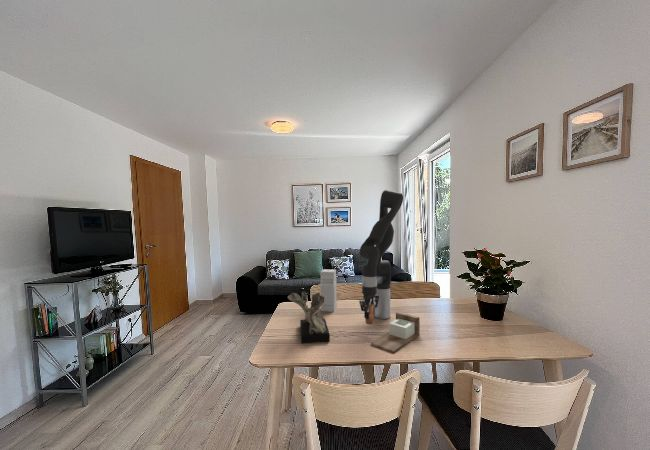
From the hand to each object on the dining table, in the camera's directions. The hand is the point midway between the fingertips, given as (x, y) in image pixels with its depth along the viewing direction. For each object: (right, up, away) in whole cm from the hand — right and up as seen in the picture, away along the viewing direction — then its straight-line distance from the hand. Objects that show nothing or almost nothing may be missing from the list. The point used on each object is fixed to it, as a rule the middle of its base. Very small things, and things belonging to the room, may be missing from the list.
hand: (369, 317), depth 145 cm
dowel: (0, -3, 0) cm, 3 cm away
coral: (-31, -9, -1) cm, 32 cm away
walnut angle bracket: (+11, -8, -9) cm, 16 cm away
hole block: (+15, -7, -5) cm, 17 cm away
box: (-20, -7, +38) cm, 43 cm away
